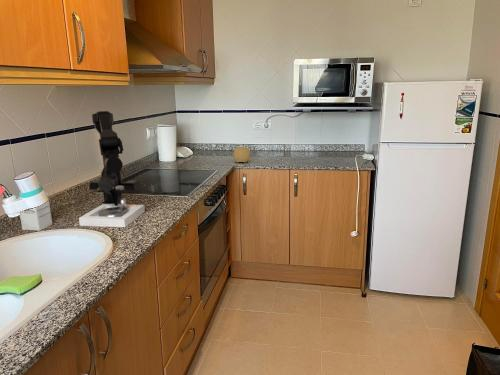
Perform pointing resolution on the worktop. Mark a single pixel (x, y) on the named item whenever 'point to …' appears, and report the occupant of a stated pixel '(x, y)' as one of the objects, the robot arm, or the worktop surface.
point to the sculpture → (241, 154)
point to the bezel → (123, 221)
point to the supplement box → (37, 217)
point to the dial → (115, 210)
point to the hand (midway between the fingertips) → (116, 205)
